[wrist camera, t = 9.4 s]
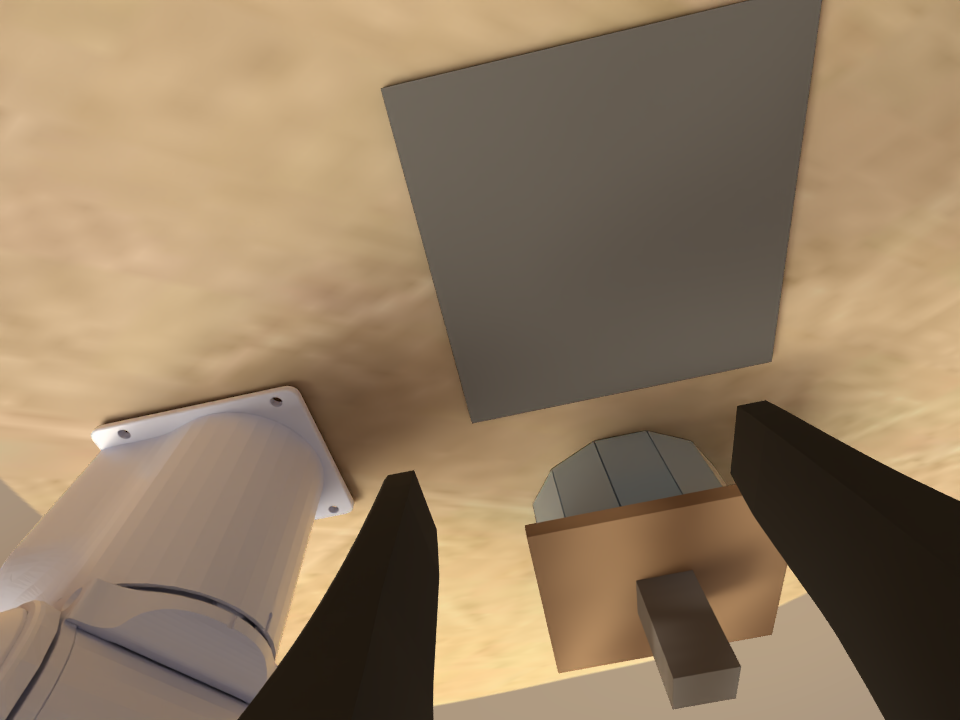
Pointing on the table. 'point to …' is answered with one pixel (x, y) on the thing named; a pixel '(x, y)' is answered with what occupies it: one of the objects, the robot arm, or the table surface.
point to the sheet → (645, 550)
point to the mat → (611, 203)
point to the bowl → (624, 475)
